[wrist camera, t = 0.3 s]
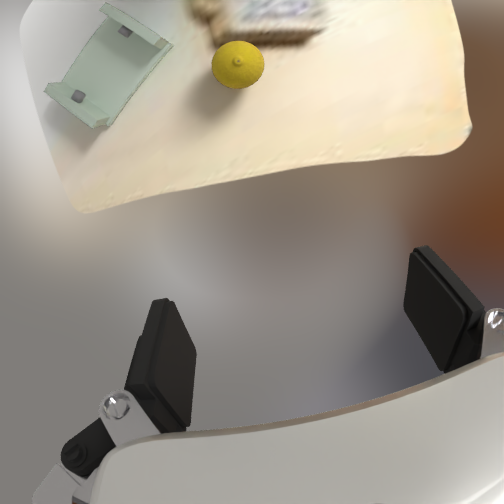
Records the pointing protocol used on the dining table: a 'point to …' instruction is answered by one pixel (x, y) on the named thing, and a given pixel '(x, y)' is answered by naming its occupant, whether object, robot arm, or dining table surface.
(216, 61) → the lemon
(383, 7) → the dining table surface
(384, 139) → the dining table surface
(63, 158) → the dining table surface
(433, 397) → the robot arm
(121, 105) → the holder
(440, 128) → the dining table surface
